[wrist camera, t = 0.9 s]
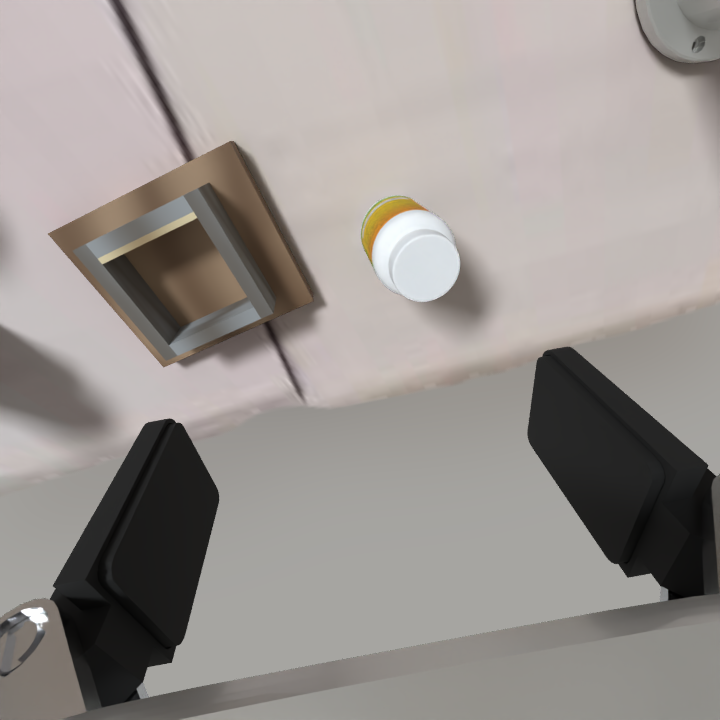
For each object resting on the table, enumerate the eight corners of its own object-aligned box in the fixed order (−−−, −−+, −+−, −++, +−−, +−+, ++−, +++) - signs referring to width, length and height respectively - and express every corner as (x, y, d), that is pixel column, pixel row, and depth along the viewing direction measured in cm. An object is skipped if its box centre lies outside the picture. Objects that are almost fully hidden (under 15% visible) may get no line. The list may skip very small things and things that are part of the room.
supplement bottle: (347, 244, 30) (361, 288, 21) (383, 179, 27) (415, 200, 19) (402, 276, 31) (435, 327, 23) (440, 217, 29) (492, 251, 21)
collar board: (233, 140, 25) (219, 142, 21) (313, 294, 31) (313, 316, 28) (60, 228, 27) (18, 245, 23) (169, 358, 33) (151, 387, 29)
